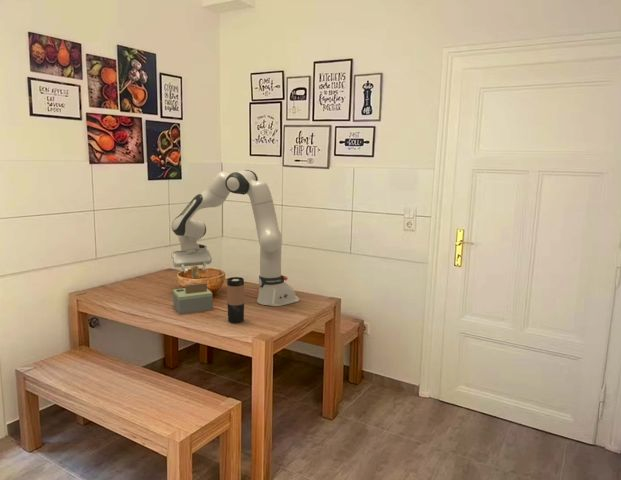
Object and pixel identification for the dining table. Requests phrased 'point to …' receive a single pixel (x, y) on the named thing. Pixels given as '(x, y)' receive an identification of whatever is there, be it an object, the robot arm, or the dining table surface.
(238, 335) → the dining table surface
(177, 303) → the grey open box
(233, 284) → the travel mug
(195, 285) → the lid
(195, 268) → the wooden key
